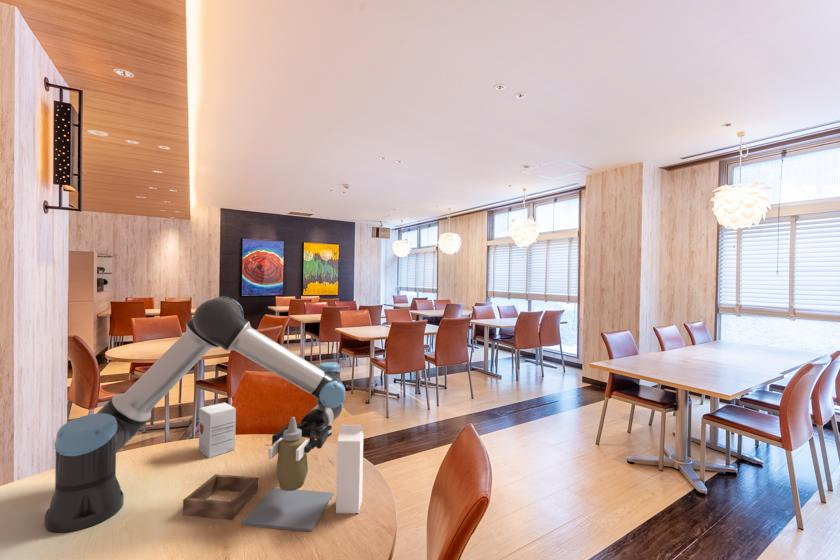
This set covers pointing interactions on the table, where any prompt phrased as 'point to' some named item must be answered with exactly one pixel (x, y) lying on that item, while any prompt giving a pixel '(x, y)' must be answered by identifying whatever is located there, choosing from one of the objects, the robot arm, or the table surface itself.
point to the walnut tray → (217, 509)
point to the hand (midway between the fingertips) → (283, 454)
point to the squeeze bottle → (291, 459)
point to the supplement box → (217, 429)
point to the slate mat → (289, 509)
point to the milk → (349, 469)
